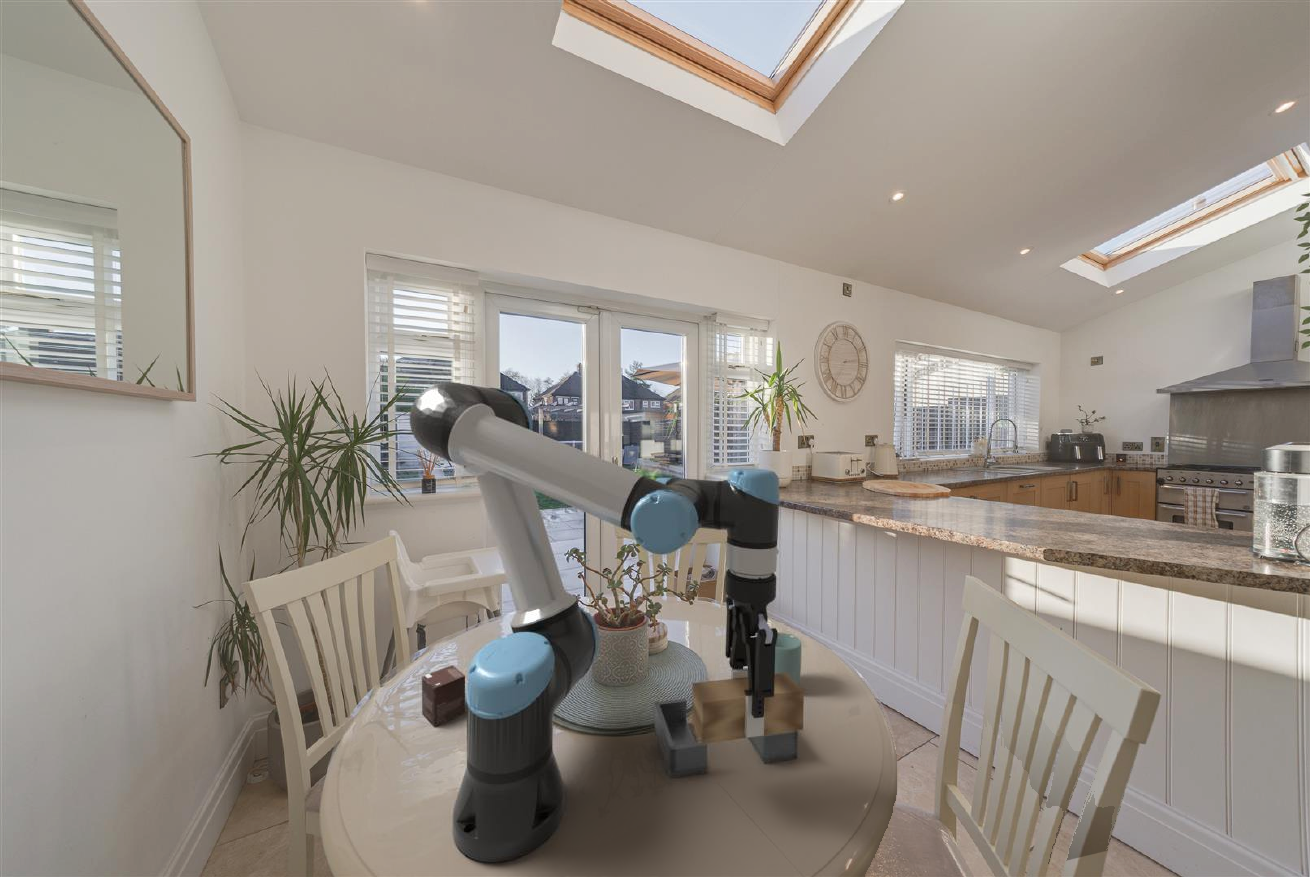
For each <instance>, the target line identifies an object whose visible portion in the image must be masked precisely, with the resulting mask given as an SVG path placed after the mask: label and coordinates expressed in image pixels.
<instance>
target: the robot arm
mask: <svg viewBox="0 0 1310 877" xmlns="http://www.w3.org/2000/svg"><path fill="white" fill-rule="evenodd" d="M409 426H410V429H411V433H412V435H413V437H414V439H415V440H416V441H417V443H418V444H419V445H421V446H422V448H424V449H425V450H426V451H428V452H429V453H431V454H433V455H436V456H437V457H439V458H441V459H444V460H446V461H448V462H451V463H453V464H456V465H458V466H461V467H463V470H464V471H465V472H466V473H469V474H471V475H473V476H474V477H475V478H476V481H477V484H478V487H479V491H480V494H481V496H482V497H481V498H482V500H483V504H484V507H485V511H486V513H487V517H488V521H489V524H490V527H491V531H492V534H493V538H494V540H495V543H496V548H497V551H498V554H499V556H500V558H499V559H500V560H501V564H502V567H503V570H504V574H505V577H506V581H507V585H508V587H509V590H510V593H511V597H512V601H513V603H514V607H515V613H514V615H513V617H512V619H511V621H510V624H509V625H510V627H511V631H512V633H509V634H507V635H506V636H505V637H498V638H495V639H493V640H492V641H489V642H488V643H487V644H485V645H484V646H483V647H481V648H480V650H479V651H477V652H476V654H475V655H474V656H473V659H472V660H471V662H470V663H469V664H470V665H469V667H468V671H467V682H466V685H465V702H466V769H465V771H464V775H463V778H462V781H461V784H460V787H459V790H458V792H457V796H456V799H455V802H454V805H453V812H452V838H453V840H454V843H455V845H456V847H457V849H458V850H459V851H460V852H461V853H462V854H464V855H465V856H466V855H467V857H468V858H471V859H472V860H475V861H478V862H484V861H485V862H484V863H499V862H506V861H510V860H513V859H517V858H520V857H523V856H525V855H526V854H528V853H530V852H532V851H534V850H536V848H537V847H539V846H541V845H542V844H543V843H544V842H545V841H546V840H548V838H549V837H550V836H551V835H552V834H553V833H554V831H555V830H556V829H557V827H558V825H559V824H560V822H561V820H562V817H563V814H564V810H565V785H564V784H565V783H564V779H563V777H562V773H561V771H560V768H559V765H558V762H557V759H556V756H555V753H554V751H553V750H554V749H553V746H554V744H553V740H554V738H553V736H554V735H553V734H554V728H553V727H554V714H555V711H557V709H558V708H559V707H560V705H561V704H562V702H563V701H565V699H566V698H567V696H568V695H569V694H570V692H571V691H572V690H573V688H574V687H576V685H577V684H578V683H579V681H580V680H581V679H583V678H584V676H585V675H587V673H588V672H589V671H590V669H591V667H592V665H593V662H594V661H595V659H596V658H597V655H598V651H599V647H600V632H599V628H598V626H597V622H596V620H595V619H594V618H593V616H592V615H591V613H589V612H588V611H585V609H584V608H583V607H581V606H580V605H579V602H578V598H577V596H575V595H574V594H572V593H569V592H567V591H566V590H565V588H564V584H563V580H562V578H561V574H560V570H559V568H558V564H557V561H556V558H555V555H554V551H553V549H552V545H551V543H550V538H549V535H548V532H547V528H546V526H545V522H544V519H543V517H542V512H541V510H540V506H539V503H538V500H537V496H536V493H535V491H536V492H538V493H540V494H543V495H544V496H547V497H549V498H551V499H553V500H555V501H559V502H561V503H562V504H566V505H567V506H569V507H572V508H574V509H577V510H579V511H581V512H584V513H585V514H588V515H591V516H592V517H595V518H598V519H599V520H601V521H604V522H607V523H609V524H611V525H613V526H614V527H615V526H616V527H618V528H620V529H622V530H625V531H627V532H630V533H631V534H632V536H633V539H635V541H636V542H637V544H639V545H640V547H642V548H643V549H644V550H646V552H649V553H652V554H655V555H667V554H672V553H674V552H676V551H678V550H680V549H681V548H683V547H685V546H686V545H687V544H688V543H689V542H690V541H691V540H692V538H694V536H695V534H696V533H697V531H698V529H707V530H708V529H710V530H718V531H721V530H723V531H726V532H727V533H726V534H727V535H726V547H725V548H726V550H725V566H726V568H727V570H725V590H724V592H725V594H726V597H725V604H726V628H725V652H724V653H725V654H724V655H725V657H726V659H729V661H728V662H729V663H728V664H729V666H730V668H731V669H730V679H736V678H746V677H748V682H749V690H744V692H745V695H746V702H745V736H746V738H748V737H756V736H764V713H765V698H767V697H774V682H775V645H776V641H777V637H778V632H779V631H778V629H777V628H776V627H773V628H771V627H770V626H769V624H768V619H769V616H768V611H767V610H768V609H767V607H768V605H769V604H770V603H772V602H773V601H774V600H775V599H776V598H777V576H776V574H775V572H777V563H778V562H777V561H778V554H779V552H780V551H779V548H778V540H779V539H778V538H779V537H778V534H779V517H780V516H779V515H780V480H779V479H780V478H779V476H778V474H776V472H774V471H773V470H769V469H765V468H764V469H763V468H751V467H750V468H745V467H744V468H742V467H741V468H732V469H731V470H730V471H729V472H728V473H729V474H728V477H727V479H726V480H712V479H710V480H708V479H696V478H694V479H693V478H681V477H680V478H679V477H678V476H673V477H658V478H656V479H653V478H650V477H647V476H645V475H643V474H641V473H639V472H635V471H633V470H631V469H629V468H626V467H623V466H621V465H618V464H616V463H613V462H611V461H608V460H605V459H603V458H600V457H599V456H596V455H593V454H590V453H588V452H586V451H584V450H581V449H579V448H577V447H573V446H571V445H569V444H567V443H563V442H561V441H558V440H556V439H553V438H551V437H548V436H546V435H543V434H541V433H539V432H535V431H533V417H532V414H531V411H530V409H529V407H528V405H527V404H526V403H525V402H524V401H523V400H522V399H521V398H520V397H519V396H517V395H516V394H514V393H512V392H509V391H506V390H505V389H502V388H498V387H497V388H496V387H482V386H479V385H478V386H477V385H471V384H465V383H461V382H454V381H453V382H450V381H449V382H442V383H441V382H440V383H438V384H433V385H432V386H430V387H428V388H426V389H425V390H423V391H422V392H421V393H420V394H419V395H418V396H417V397H416V398H415V400H414V402H413V403H412V406H411V408H410V413H409ZM746 667H747V668H746ZM746 738H745V739H746ZM748 739H749V738H748Z"/></svg>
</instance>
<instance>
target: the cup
mask: <svg viewBox="0 0 1310 877" xmlns="http://www.w3.org/2000/svg"><path fill="white" fill-rule="evenodd" d="M777 632H778V637H777V641H776V645H775V674H781V673H788V674H789V675H790V676H791V677H792V678H793V680H794V681H795V682H796V683H797V684H798V685H799V683H800V680H801V679H800V678H801V671H802V652H803V651H802V648H803V647H802V641H801V640H800V639H799V637H797V636H795V635H793V634H790V633H786V632H780V631H777Z"/></svg>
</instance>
